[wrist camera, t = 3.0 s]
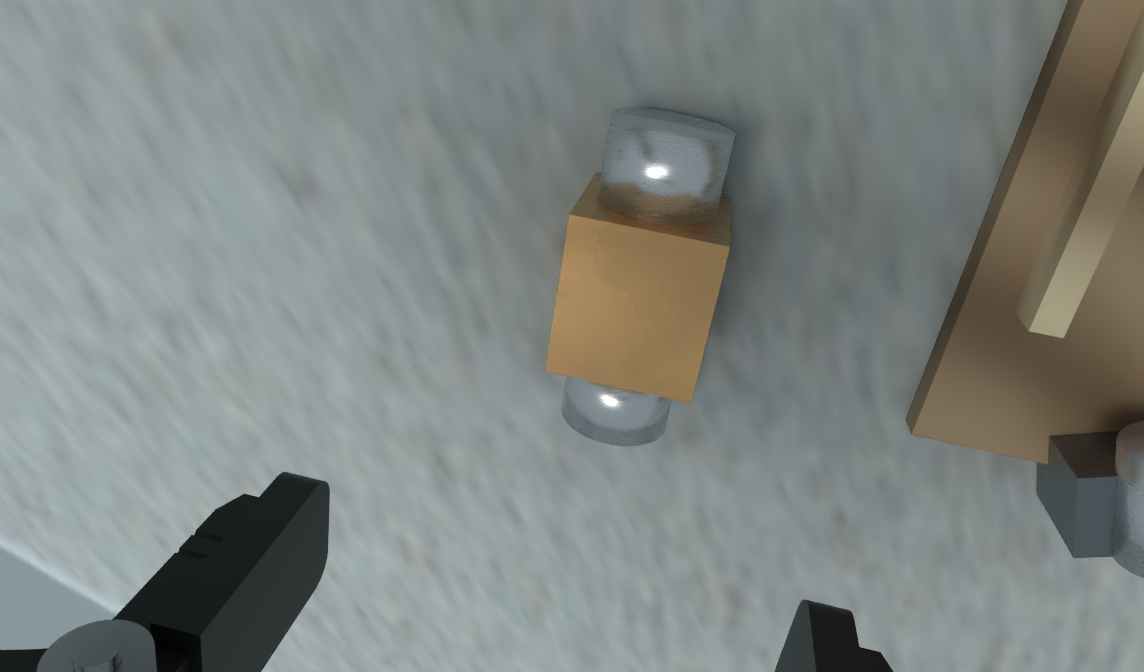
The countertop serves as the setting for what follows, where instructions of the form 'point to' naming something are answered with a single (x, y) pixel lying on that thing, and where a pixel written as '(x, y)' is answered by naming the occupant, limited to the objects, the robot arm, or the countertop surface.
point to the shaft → (1097, 493)
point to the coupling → (641, 275)
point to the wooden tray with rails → (1055, 260)
